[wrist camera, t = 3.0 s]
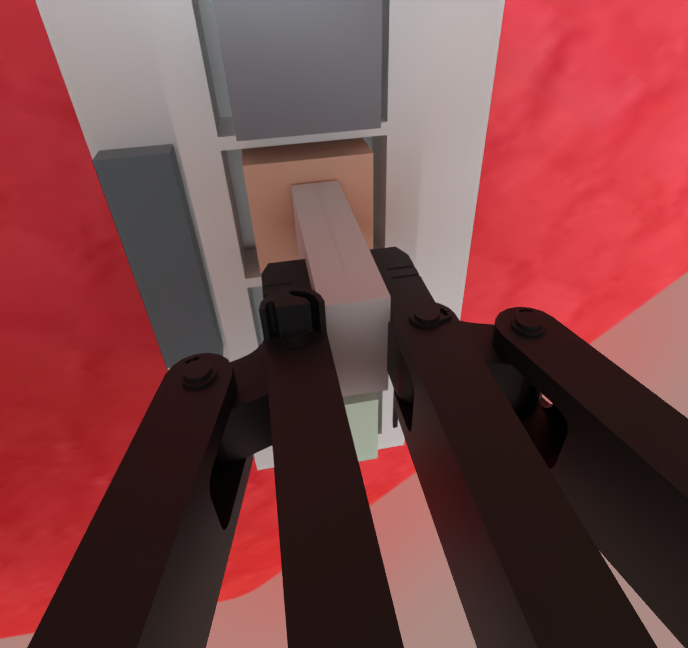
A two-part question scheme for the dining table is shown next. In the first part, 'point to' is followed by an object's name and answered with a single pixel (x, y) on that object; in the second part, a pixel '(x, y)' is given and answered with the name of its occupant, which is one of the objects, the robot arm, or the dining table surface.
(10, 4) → the dining table surface
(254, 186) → the key terracotta
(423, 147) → the keypad
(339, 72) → the key charcoal
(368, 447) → the key sage
